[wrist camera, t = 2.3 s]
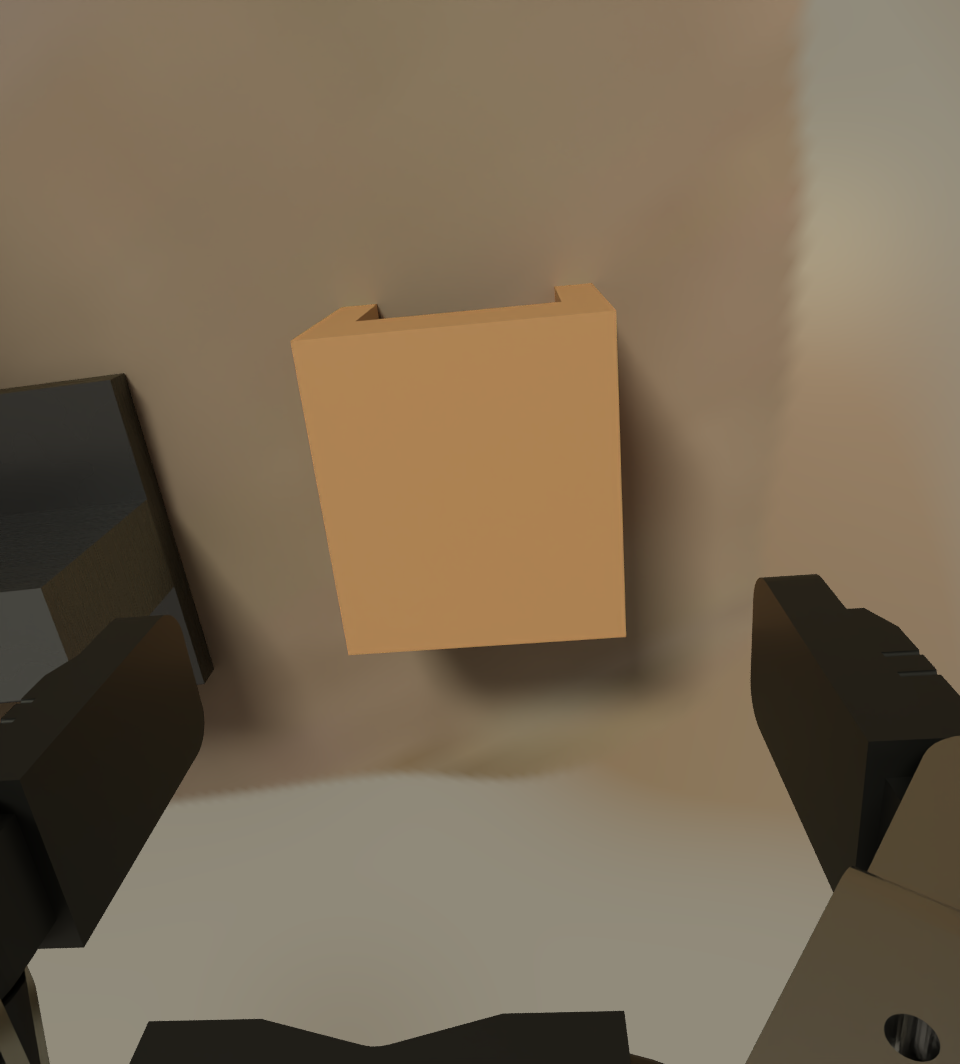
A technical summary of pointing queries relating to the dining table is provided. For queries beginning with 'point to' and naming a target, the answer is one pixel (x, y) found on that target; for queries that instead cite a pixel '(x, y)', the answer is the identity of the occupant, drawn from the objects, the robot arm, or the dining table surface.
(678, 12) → the dining table surface
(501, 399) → the block
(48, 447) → the rail
